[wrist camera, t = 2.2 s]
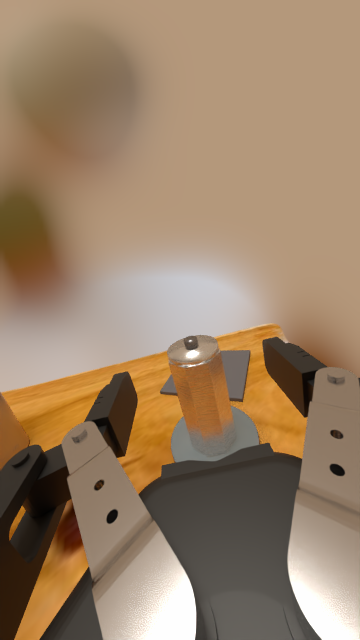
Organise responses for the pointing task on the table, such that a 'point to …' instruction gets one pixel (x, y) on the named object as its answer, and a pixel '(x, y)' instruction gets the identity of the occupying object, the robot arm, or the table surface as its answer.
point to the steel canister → (203, 393)
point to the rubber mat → (234, 374)
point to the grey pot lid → (245, 438)
